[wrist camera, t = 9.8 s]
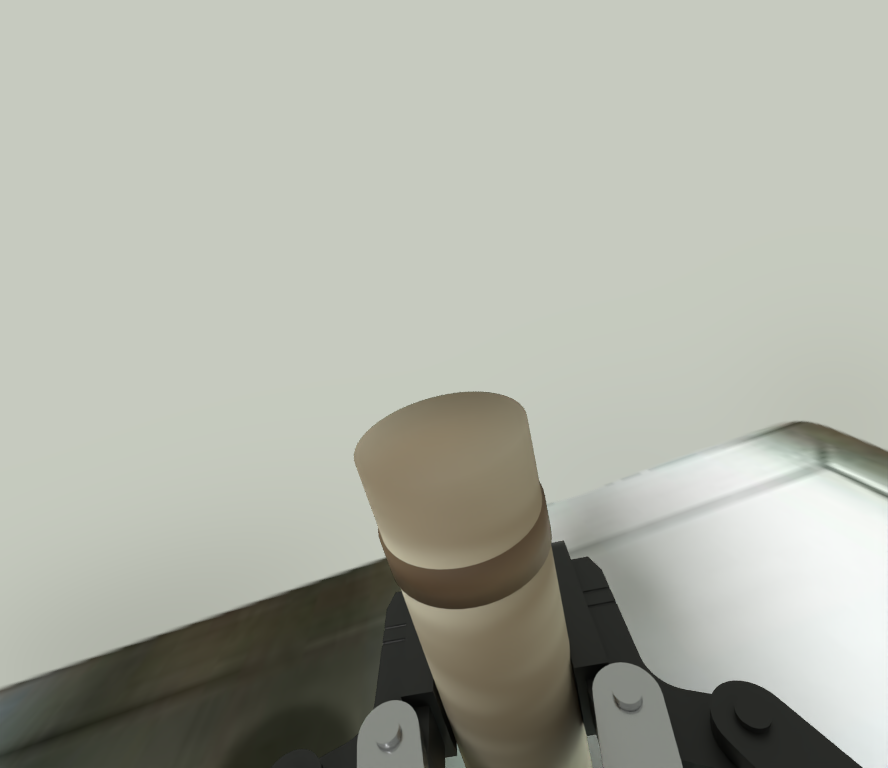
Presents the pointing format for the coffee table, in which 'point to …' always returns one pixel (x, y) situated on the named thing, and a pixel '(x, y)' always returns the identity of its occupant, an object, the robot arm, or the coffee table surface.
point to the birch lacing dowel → (478, 574)
